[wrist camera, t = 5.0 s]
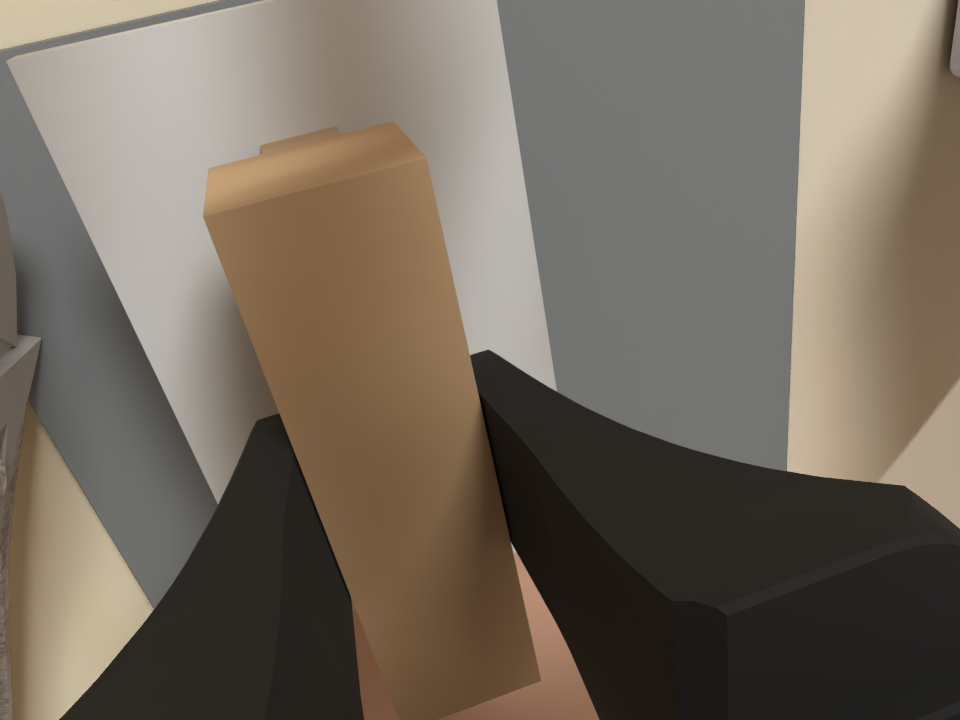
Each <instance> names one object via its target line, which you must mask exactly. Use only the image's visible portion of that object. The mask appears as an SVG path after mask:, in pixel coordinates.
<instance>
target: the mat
mask: <svg viewBox="0 0 960 720" xmlns="http://www.w3.org/2000/svg"><path fill="white" fill-rule="evenodd" d="M258 1H263V0H219V1H215V2H211V3H206V4H202V5H197V6H193V7H188V8H184V9H180V10H175V11H171V12H166V13H162V14H158V15H153V16H149V17H144V18H140V19H135V20H131V21H127V22H122V23H118V24H113V25H109V26H104V27H100V28H96V29H91V30H87V31H82V32H78V33H74V34H69V35H65V36H60V37H56V38H51V39H47V40H43V41H38V42H34V43H29V44H25V45H20V46H16V47H12V48H7V49H3V50H0V191H1V193H2V196H3V201H4V205H5V210H6V214H7V219H8V224H9V228H10V235H11V242H12V250H13V257H14V265H15V272H16V297H17V334H19V335H26V336H34V337H40V338H42V339H41V344H40V348H39V353H38V357H37V361H36V366H35V370H34V375H33V379H32V384H31V388H30V392H29V397H28V401H29V403H30V404H31V406H32V408H33V409H34V411H35V413H36V414H37V416H38V417H39V419H40V421H41V422H42V424H43V426H44V427H45V429H46V431H47V432H48V434H49V436H50V437H51V439H52V441H53V442H54V444H55V446H56V447H57V449H58V451H59V452H60V454H61V456H62V457H63V459H64V461H65V462H66V464H67V466H68V467H69V469H70V471H71V472H72V474H73V475H74V477H75V479H76V480H77V482H78V484H79V485H80V487H81V489H82V490H83V492H84V494H85V495H86V497H87V499H88V500H89V502H90V504H91V505H92V507H93V509H94V510H95V512H96V514H97V515H98V517H99V519H100V520H101V522H102V524H103V525H104V527H105V529H106V530H107V532H108V534H109V535H110V537H111V538H112V540H113V542H114V543H115V545H116V547H117V548H118V550H119V552H120V553H121V555H122V557H123V558H124V560H125V562H126V563H127V565H128V567H129V568H130V570H131V572H132V573H133V575H134V577H135V578H136V580H137V582H138V583H139V585H140V587H141V588H142V590H143V592H144V593H145V595H146V596H147V598H148V600H149V601H150V603H151V605H152V606H153V608H154V609H155V608H156V606H157V605H158V603H159V602H160V601H161V599H162V598H163V596H164V595H165V594H166V592H167V591H168V589H169V588H170V587H171V585H172V584H173V582H174V581H175V579H176V577H177V576H178V574H179V573H180V571H181V570H182V568H183V566H184V565H185V563H186V562H187V560H188V558H189V556H190V555H191V553H192V551H193V549H194V548H195V546H196V544H197V542H198V541H199V539H200V537H201V535H202V534H203V532H204V530H205V528H206V527H207V525H208V523H209V521H210V519H211V517H212V516H213V514H214V512H215V510H216V508H217V506H218V504H217V501H216V499H215V497H214V495H213V493H212V491H211V489H210V487H209V485H208V483H207V481H206V478H205V476H204V474H203V472H202V470H201V468H200V466H199V464H198V462H197V460H196V458H195V455H194V453H193V451H192V449H191V447H190V445H189V443H188V441H187V439H186V437H185V434H184V432H183V430H182V428H181V426H180V424H179V422H178V420H177V418H176V416H175V414H174V411H173V409H172V407H171V405H170V403H169V401H168V399H167V397H166V395H165V393H164V391H163V388H162V386H161V384H160V382H159V380H158V378H157V376H156V374H155V372H154V370H153V368H152V365H151V363H150V361H149V359H148V357H147V355H146V353H145V351H144V349H143V347H142V345H141V342H140V340H139V338H138V336H137V334H136V332H135V330H134V328H133V326H132V324H131V322H130V319H129V317H128V315H127V313H126V311H125V309H124V307H123V305H122V303H121V301H120V298H119V296H118V294H117V292H116V290H115V288H114V286H113V284H112V282H111V280H110V278H109V275H108V273H107V271H106V269H105V267H104V265H103V263H102V261H101V259H100V257H99V255H98V252H97V250H96V248H95V246H94V244H93V242H92V240H91V238H90V236H89V234H88V232H87V229H86V227H85V225H84V223H83V221H82V219H81V217H80V215H79V213H78V211H77V209H76V206H75V204H74V202H73V200H72V198H71V196H70V194H69V192H68V190H67V188H66V185H65V183H64V181H63V179H62V177H61V175H60V173H59V171H58V169H57V167H56V165H55V162H54V160H53V158H52V156H51V154H50V152H49V150H48V148H47V146H46V144H45V142H44V139H43V137H42V135H41V133H40V131H39V129H38V127H37V125H36V123H35V121H34V119H33V116H32V114H31V112H30V110H29V108H28V106H27V104H26V102H25V100H24V98H23V96H22V93H21V91H20V89H19V87H18V85H17V83H16V81H15V79H14V77H13V75H12V72H11V70H10V68H9V66H8V64H7V62H6V61H7V60H9V59H11V58H13V57H15V56H17V55H22V54H26V53H31V52H35V51H40V50H44V49H49V48H53V47H57V46H62V45H66V44H71V43H75V42H80V41H84V40H89V39H93V38H98V37H102V36H107V35H111V34H115V33H120V32H124V31H129V30H133V29H138V28H142V27H147V26H151V25H156V24H160V23H165V22H169V21H173V20H178V19H182V18H187V17H191V16H196V15H200V14H205V13H209V12H214V11H218V10H222V9H227V8H231V7H236V6H240V5H245V4H249V3H254V2H258ZM497 6H498V12H499V19H500V25H501V32H502V38H503V45H504V51H505V58H506V64H507V71H508V77H509V84H510V90H511V97H512V103H513V109H514V116H515V122H516V129H517V135H518V142H519V148H520V155H521V161H522V168H523V174H524V181H525V187H526V194H527V200H528V207H529V213H530V220H531V226H532V233H533V239H534V246H535V252H536V259H537V265H538V272H539V278H540V285H541V291H542V298H543V304H544V311H545V317H546V324H547V330H548V337H549V343H550V350H551V356H552V363H553V369H554V375H555V382H556V388H557V392H559V393H560V394H562V395H564V396H566V397H567V398H569V399H571V400H573V401H575V402H576V403H578V404H580V405H582V406H584V407H586V408H588V409H590V410H592V411H594V412H596V413H599V414H601V415H603V416H605V417H607V418H609V419H611V420H613V421H616V422H618V423H620V424H623V425H625V426H627V427H630V428H632V429H635V430H637V431H640V432H643V433H646V434H648V435H651V436H654V437H657V438H659V439H662V440H665V441H668V442H670V443H673V444H676V445H680V446H683V447H686V448H689V449H692V450H696V451H700V452H703V453H707V454H711V455H715V456H718V457H722V458H726V459H730V460H733V461H738V462H742V463H747V464H751V465H756V466H761V467H765V468H771V469H776V470H782V471H787V447H788V421H789V396H790V370H791V345H792V319H793V294H794V268H795V242H796V217H797V191H798V166H799V140H800V114H801V89H802V63H803V38H804V12H805V0H497Z"/></svg>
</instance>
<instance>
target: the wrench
mask: <svg viewBox="0 0 960 720" xmlns="http://www.w3.org/2000/svg"><path fill="white" fill-rule="evenodd" d="M41 339H42V338H40V337H34V336H26V335H19V334H17V297H16V272H15V265H14V257H13V250H12V242H11V235H10V228H9V224H8V219H7V214H6V210H5V205H4V201H3V196H2V193H1V191H0V720H13V713H12V685H11V657H10V619H9V569H8V560H9V548H10V536H11V525H12V513H13V501H14V493H15V486H16V479H17V471H18V464H19V457H20V449H21V442H22V435H23V427H24V420H25V413H26V405H27V401H28V397H29V392H30V388H31V384H32V379H33V375H34V370H35V366H36V361H37V357H38V353H39V348H40V344H41Z"/></svg>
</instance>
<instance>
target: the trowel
mask: <svg viewBox="0 0 960 720" xmlns="http://www.w3.org/2000/svg"><path fill="white" fill-rule="evenodd" d="M6 62H7V64H8V66H9V68H10V70H11V72H12V75H13V77H14V79H15V81H16V83H17V85H18V87H19V89H20V91H21V93H22V96H23V98H24V100H25V102H26V104H27V106H28V108H29V110H30V112H31V114H32V116H33V119H34V121H35V123H36V125H37V127H38V129H39V131H40V133H41V135H42V137H43V139H44V142H45V144H46V146H47V148H48V150H49V152H50V154H51V156H52V158H53V160H54V162H55V165H56V167H57V169H58V171H59V173H60V175H61V177H62V179H63V181H64V183H65V185H66V188H67V190H68V192H69V194H70V196H71V198H72V200H73V202H74V204H75V206H76V209H77V211H78V213H79V215H80V217H81V219H82V221H83V223H84V225H85V227H86V229H87V232H88V234H89V236H90V238H91V240H92V242H93V244H94V246H95V248H96V250H97V252H98V255H99V257H100V259H101V261H102V263H103V265H104V267H105V269H106V271H107V273H108V275H109V278H110V280H111V282H112V284H113V286H114V288H115V290H116V292H117V294H118V296H119V298H120V301H121V303H122V305H123V307H124V309H125V311H126V313H127V315H128V317H129V319H130V322H131V324H132V326H133V328H134V330H135V332H136V334H137V336H138V338H139V340H140V342H141V345H142V347H143V349H144V351H145V353H146V355H147V357H148V359H149V361H150V363H151V365H152V368H153V370H154V372H155V374H156V376H157V378H158V380H159V382H160V384H161V386H162V388H163V391H164V393H165V395H166V397H167V399H168V401H169V403H170V405H171V407H172V409H173V411H174V414H175V416H176V418H177V420H178V422H179V424H180V426H181V428H182V430H183V432H184V434H185V437H186V439H187V441H188V443H189V445H190V447H191V449H192V451H193V453H194V455H195V458H196V460H197V462H198V464H199V466H200V468H201V470H202V472H203V474H204V476H205V478H206V481H207V483H208V485H209V487H210V489H211V491H212V493H213V495H214V497H215V499H216V501H217V504H219V501H220V499H221V497H222V495H223V493H224V491H225V489H226V487H227V485H228V483H229V481H230V479H231V477H232V474H233V472H234V470H235V468H236V466H237V463H238V461H239V459H240V456H241V454H242V452H243V449H244V447H245V444H246V442H247V440H248V437H249V435H250V432H251V430H252V428H253V426H254V425H255V423H256V421H257V420H259V419H262V418H266V417H269V416H272V415H275V414H279V413H280V416H281V418H282V421H283V424H284V426H285V429H286V431H287V434H288V436H289V439H290V442H291V444H292V447H293V449H294V452H295V454H296V457H297V460H298V462H299V465H300V467H301V470H302V472H303V475H304V478H305V480H306V483H307V485H308V488H309V490H310V493H311V495H312V498H313V501H314V503H315V506H316V508H317V511H318V513H319V516H320V519H321V521H322V524H323V526H324V529H325V531H326V534H327V537H328V539H329V542H330V544H331V547H332V549H333V552H334V554H335V557H336V560H337V562H338V565H339V567H340V570H341V572H342V575H343V578H344V580H345V583H346V585H347V588H348V590H349V593H350V596H351V600H352V610H353V609H356V611H357V613H358V616H359V619H360V621H361V624H362V626H363V629H364V631H365V634H366V637H367V639H368V642H369V644H370V647H371V649H372V652H373V655H374V657H375V660H376V662H377V665H378V667H379V670H380V673H381V675H382V678H383V680H384V683H385V685H386V688H387V690H388V693H389V696H390V698H391V701H392V703H393V706H394V708H395V711H396V714H397V716H398V719H399V720H439V719H441V718H444V717H447V716H449V715H452V714H455V713H457V712H460V711H463V710H465V709H468V708H471V707H473V706H476V705H479V704H481V703H484V702H487V701H489V700H492V699H494V698H497V697H500V696H502V695H505V694H508V693H510V692H513V691H516V690H518V689H521V688H524V687H526V686H529V685H532V684H534V683H537V682H540V681H541V677H540V673H539V668H538V664H537V659H536V655H535V650H534V645H533V641H532V636H531V632H530V627H529V623H528V618H527V613H526V609H525V604H524V600H523V595H522V591H521V586H520V582H519V577H518V572H517V568H516V563H515V559H514V553H517V552H516V550H515V549H514V547H513V545H512V543H511V541H510V536H509V531H508V527H507V522H506V518H505V513H504V509H503V504H502V500H501V495H500V490H499V486H498V481H497V477H496V472H495V468H494V463H493V458H492V454H491V449H490V445H489V440H488V436H487V431H486V427H485V422H484V417H483V413H482V408H481V404H480V399H479V395H478V390H477V386H476V381H475V376H474V372H473V367H472V363H471V358H470V355H472V354H475V353H478V352H482V351H485V350H488V349H489V350H491V351H492V352H494V353H496V354H497V355H499V356H501V357H502V358H504V359H505V360H507V361H508V362H510V363H511V364H513V365H514V366H516V367H517V368H519V369H521V370H522V371H524V372H525V373H527V374H528V375H530V376H532V377H533V378H535V379H537V380H538V381H540V382H541V383H543V384H545V385H546V386H548V387H550V388H551V389H553V390H555V391H557V388H556V382H555V375H554V369H553V363H552V356H551V350H550V343H549V337H548V330H547V324H546V317H545V311H544V304H543V298H542V291H541V285H540V278H539V272H538V265H537V259H536V252H535V246H534V239H533V233H532V226H531V220H530V213H529V207H528V200H527V194H526V187H525V181H524V174H523V168H522V161H521V155H520V148H519V142H518V135H517V129H516V122H515V116H514V109H513V103H512V97H511V90H510V84H509V77H508V71H507V64H506V58H505V51H504V45H503V38H502V32H501V25H500V19H499V12H498V6H497V0H263V1H258V2H254V3H249V4H245V5H240V6H236V7H231V8H227V9H222V10H218V11H214V12H209V13H205V14H200V15H196V16H191V17H187V18H182V19H178V20H173V21H169V22H165V23H160V24H156V25H151V26H147V27H142V28H138V29H133V30H129V31H124V32H120V33H115V34H111V35H107V36H102V37H98V38H93V39H89V40H84V41H80V42H75V43H71V44H66V45H62V46H57V47H53V48H49V49H44V50H40V51H35V52H31V53H26V54H22V55H17V56H15V57H13V58H11V59H9V60H7V61H6Z"/></svg>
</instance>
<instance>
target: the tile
mask: <svg viewBox="0 0 960 720" xmlns="http://www.w3.org/2000/svg"><path fill="white" fill-rule="evenodd" d="M514 559H515V563H516V568H517V572H518V577H519V582H520V586H521V591H522V595H523V600H524V604H525V609H526V613H527V618H528V623H529V627H530V632H531V636H532V641H533V645H534V650H535V655H536V659H537V664H538V668H539V673H540V677H541V681H540V682H537V683H534V684H532V685H529V686H526V687H524V688H521V689H518V690H516V691H513V692H510V693H508V694H505V695H502V696H500V697H497V698H494V699H492V700H489V701H487V702H484V703H481V704H479V705H476V706H473V707H471V708H468V709H465V710H463V711H460V712H457V713H455V714H452V715H449V716H447V717H444V718H441V719H439V720H599V718H598V715H597V713H596V710H595V708H594V706H593V703H592V701H591V699H590V696H589V694H588V692H587V689H586V687H585V685H584V682H583V680H582V678H581V675H580V673H579V671H578V669H577V666H576V664H575V662H574V659H573V657H572V655H571V652H570V650H569V648H568V646H567V644H566V642H565V640H564V638H563V636H562V634H561V632H560V630H559V628H558V626H557V624H556V622H555V620H554V618H553V617H552V615H551V613H550V611H549V610H548V608H547V606H546V604H545V602H544V601H543V599H542V597H541V595H540V593H539V592H538V590H537V588H536V586H535V584H534V583H533V581H532V579H531V577H530V575H529V574H528V572H527V570H526V568H525V567H524V565H523V563H522V561H521V559H520V558H519V556H518V554H517V553H514ZM353 621H354V631H355V641H356V652H357V662H358V672H359V683H360V693H361V701H362V708H363V715H364V720H399V719H398V716H397V714H396V711H395V708H394V706H393V703H392V701H391V698H390V696H389V693H388V690H387V688H386V685H385V683H384V680H383V678H382V675H381V673H380V670H379V667H378V665H377V662H376V660H375V657H374V655H373V652H372V649H371V647H370V644H369V642H368V639H367V637H366V634H365V631H364V629H363V626H362V624H361V621H360V619H359V616H358V613H357V611H356V609H353Z"/></svg>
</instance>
